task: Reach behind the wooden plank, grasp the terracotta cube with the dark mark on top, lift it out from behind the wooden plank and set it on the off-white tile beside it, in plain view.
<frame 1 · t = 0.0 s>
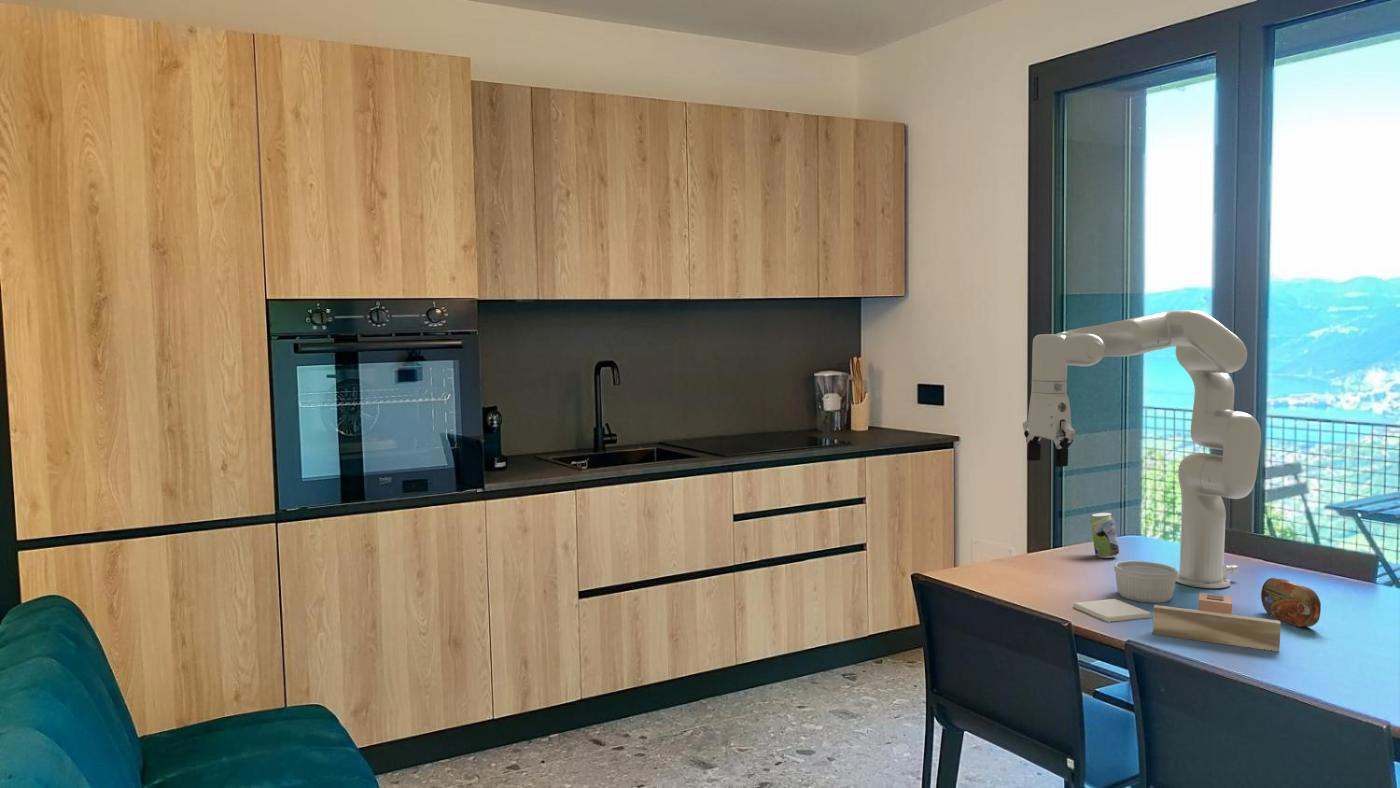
hand: (1047, 463, 216), 31 cm above the table, tool pointing down, fingers open, 9 cm apart
display tile: (1111, 612, 207), on the table
tin: (1289, 622, 201), on the table
marked cube: (1214, 626, 198), on the table
wooden plank: (1214, 641, 188), on the table
beverage can: (1104, 557, 257), on the table
ramekin: (1144, 597, 219), on the table
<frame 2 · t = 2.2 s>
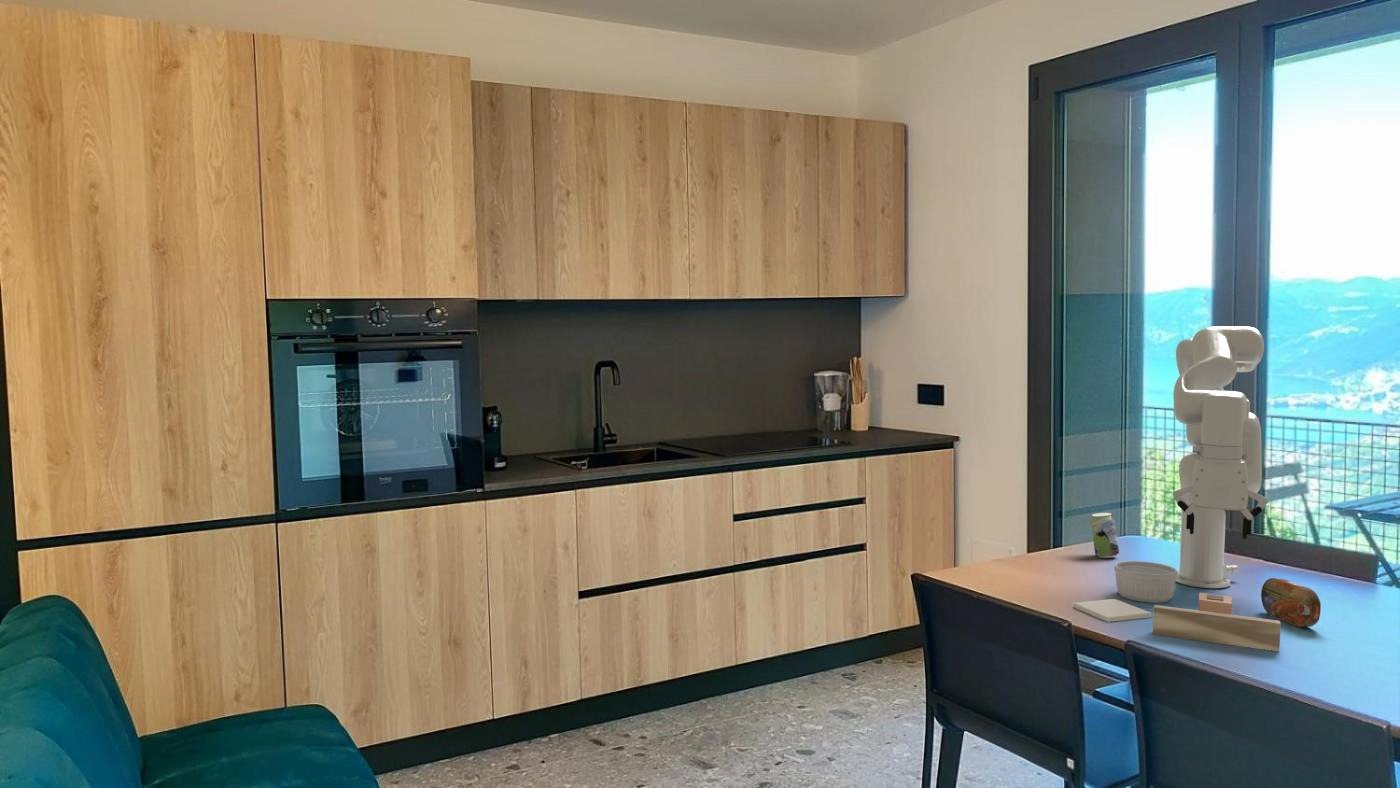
hand: (1217, 535, 196), 19 cm above the table, tool pointing down, fingers open, 9 cm apart
nothing on the table moved.
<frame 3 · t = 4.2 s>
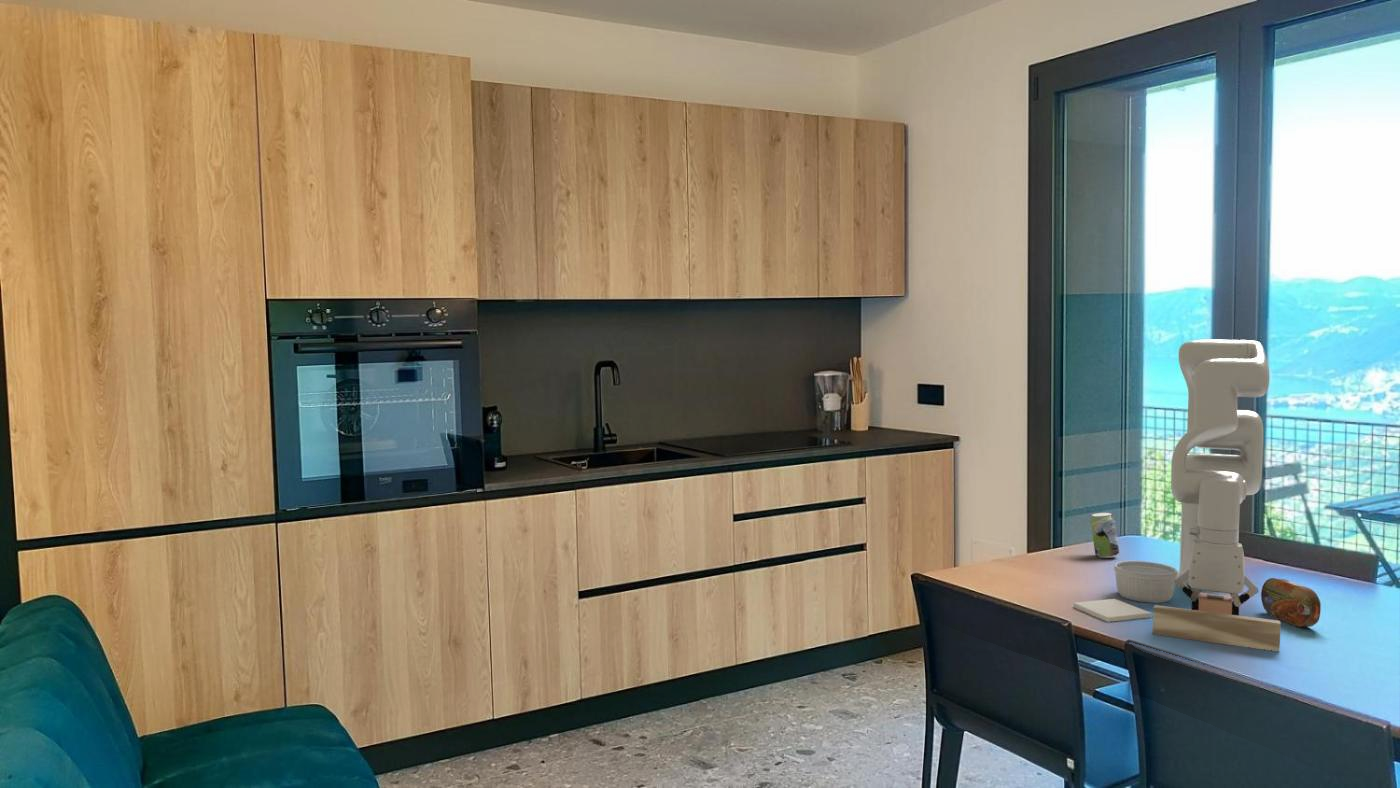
hand: (1214, 620, 198), 1 cm above the table, tool pointing down, fingers closed on marked cube, 6 cm apart
marked cube: (1214, 626, 198), on the table, touching gripper
everything else where it was.
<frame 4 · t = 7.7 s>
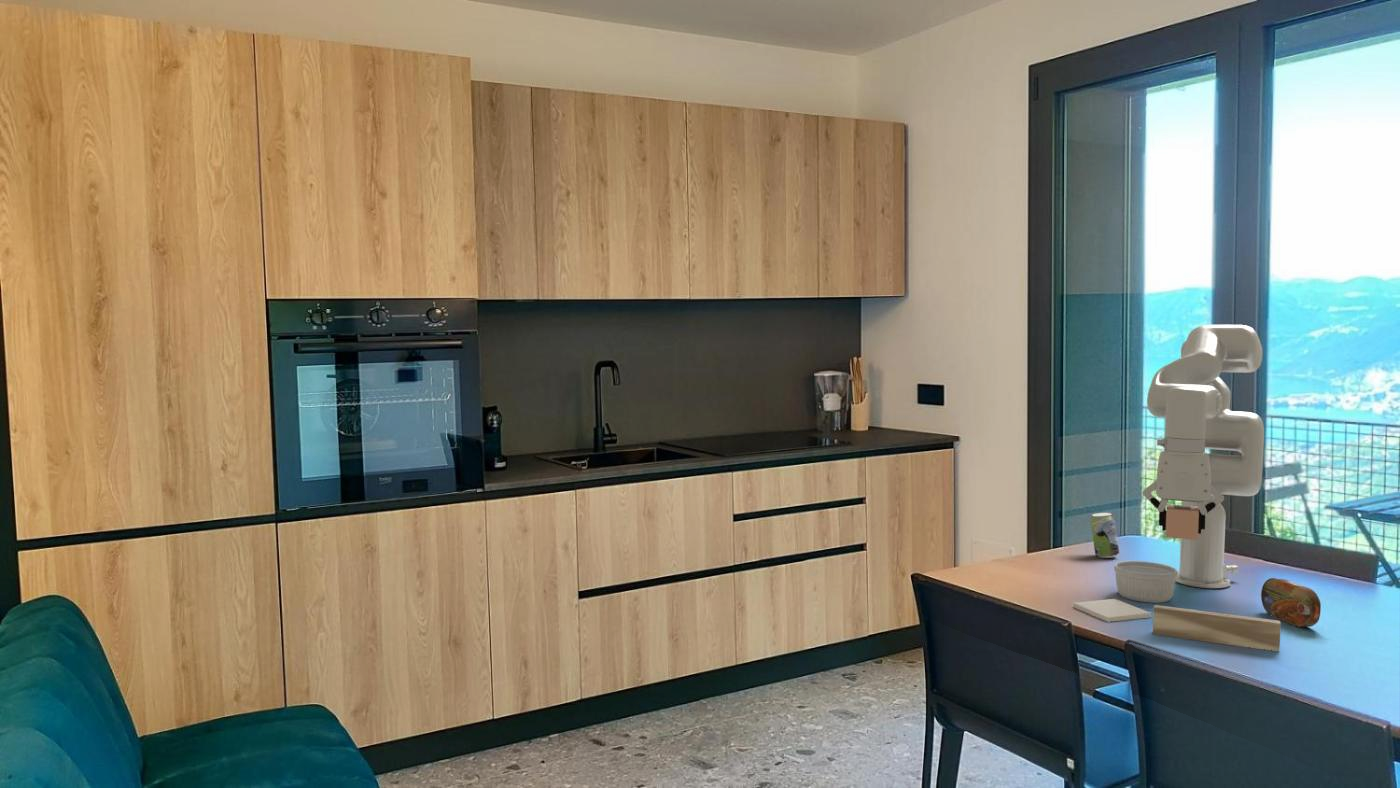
hand: (1181, 530, 200), 20 cm above the table, tool pointing down, fingers closed on marked cube, 6 cm apart
marked cube: (1181, 535, 200), point 18 cm above the table, touching gripper
everything else where it was.
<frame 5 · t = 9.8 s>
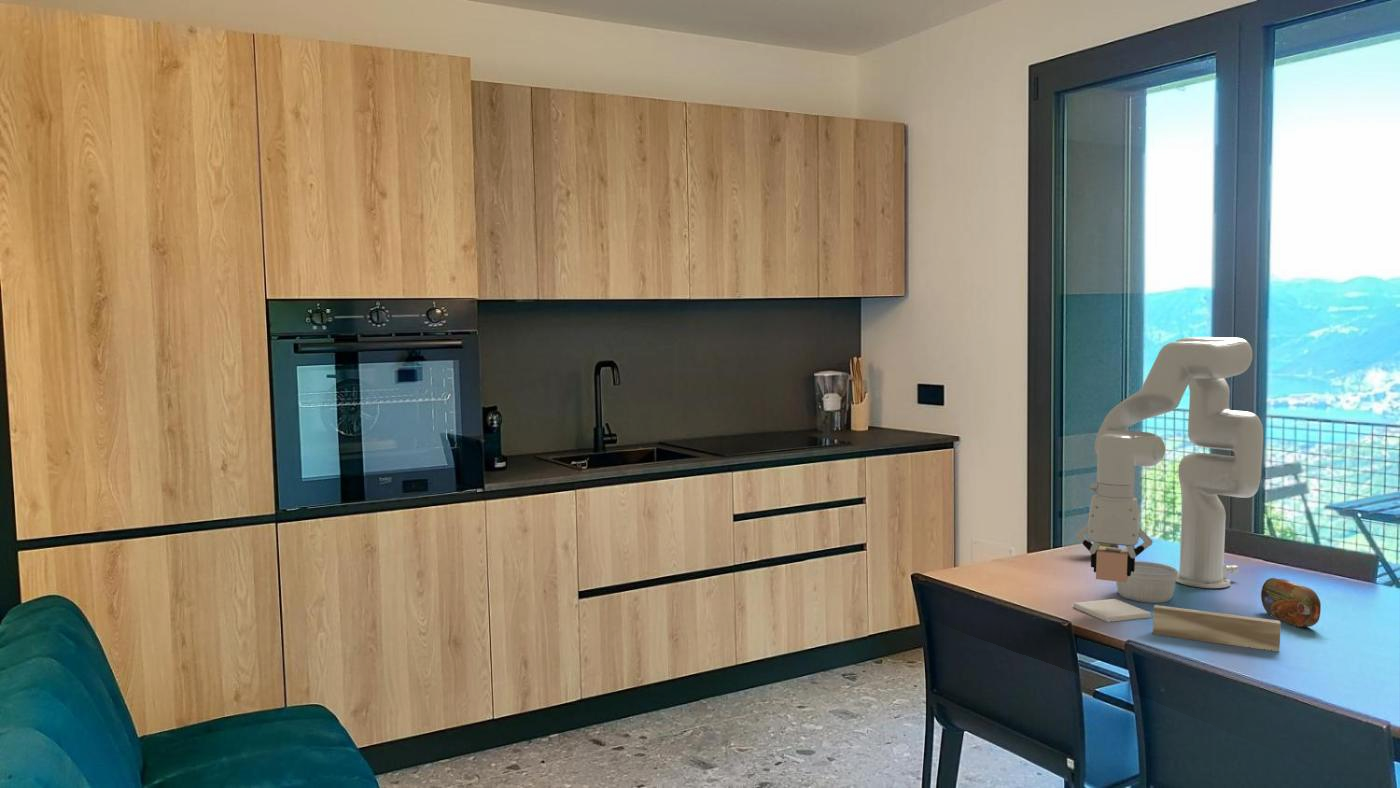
hand: (1112, 572, 207), 9 cm above the table, tool pointing down, fingers closed on marked cube, 6 cm apart
marked cube: (1112, 577, 207), point 8 cm above the table, touching gripper
everything else where it was.
when the fingers open (3 cm above the table, at t = 11.3 s): marked cube drops 1 cm, resting on display tile.
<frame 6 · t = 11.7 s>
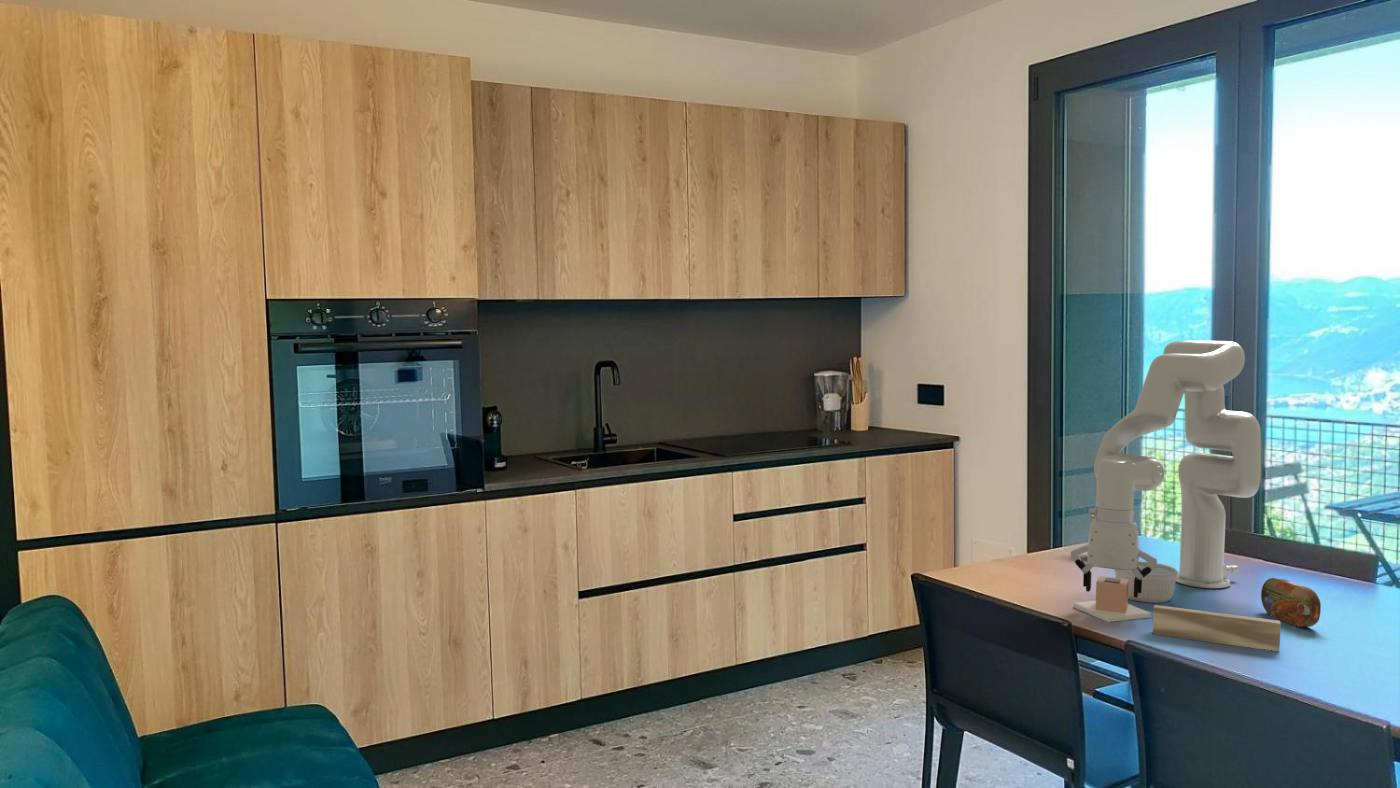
hand: (1111, 592, 207), 4 cm above the table, tool pointing down, fingers open, 9 cm apart
marked cube: (1111, 607, 207), point 1 cm above the table, touching display tile
everything else where it was.
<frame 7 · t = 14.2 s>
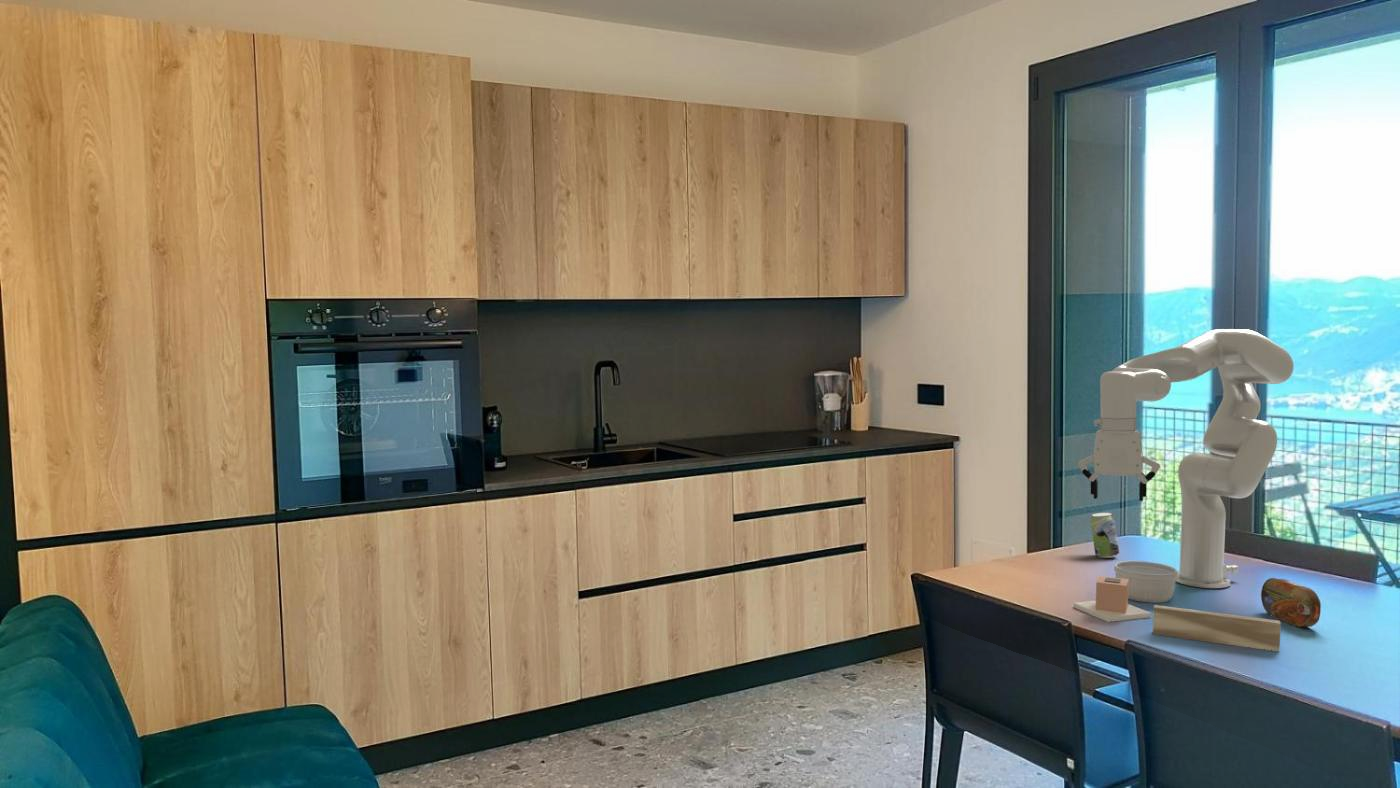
hand: (1118, 498, 218), 23 cm above the table, tool pointing down, fingers open, 9 cm apart
nothing on the table moved.
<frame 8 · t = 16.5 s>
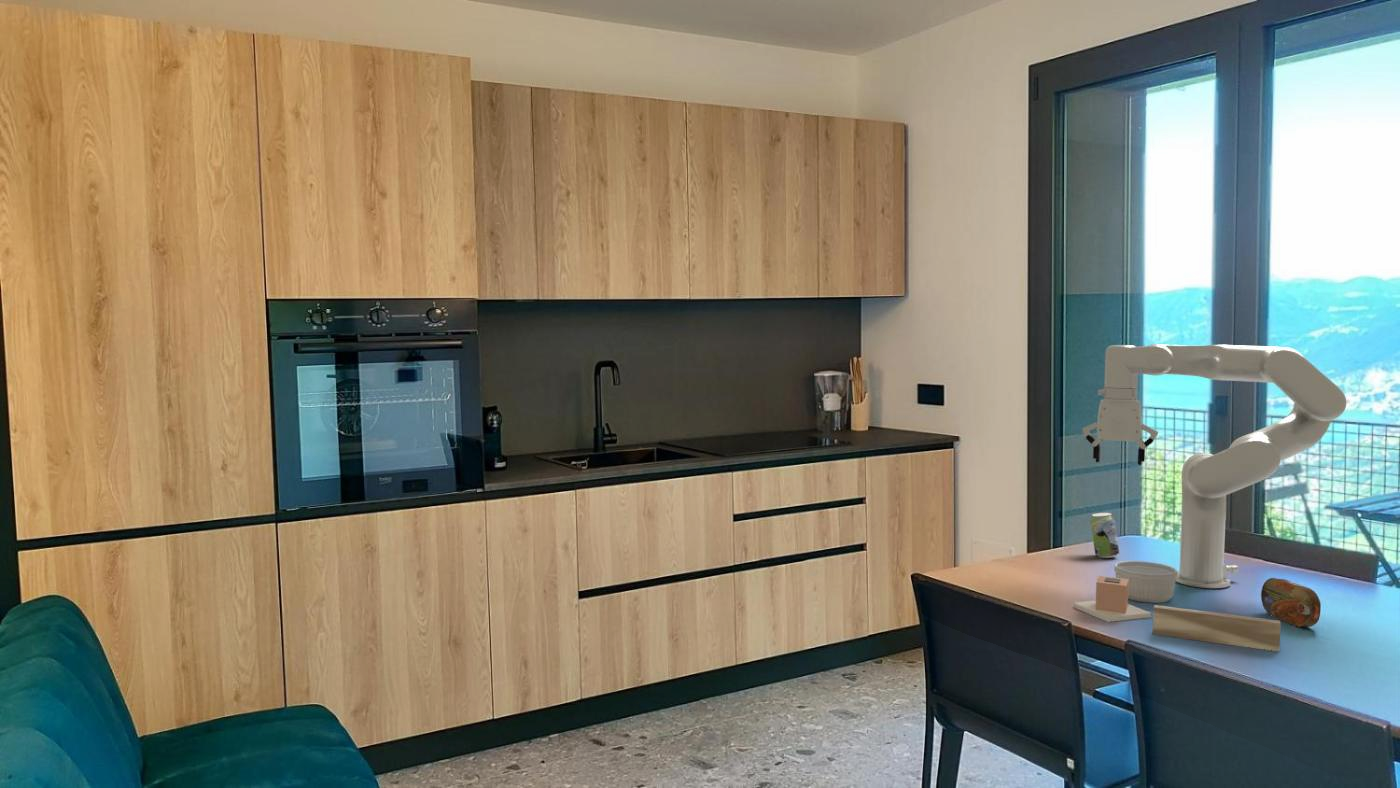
hand: (1118, 463, 237), 28 cm above the table, tool pointing down, fingers open, 9 cm apart
nothing on the table moved.
at the end: marked cube 0.0 cm off-centre on the display tile, point 1.0 cm above the display tile's base; marked cube tilted 0°; the gripper is holding nothing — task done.
